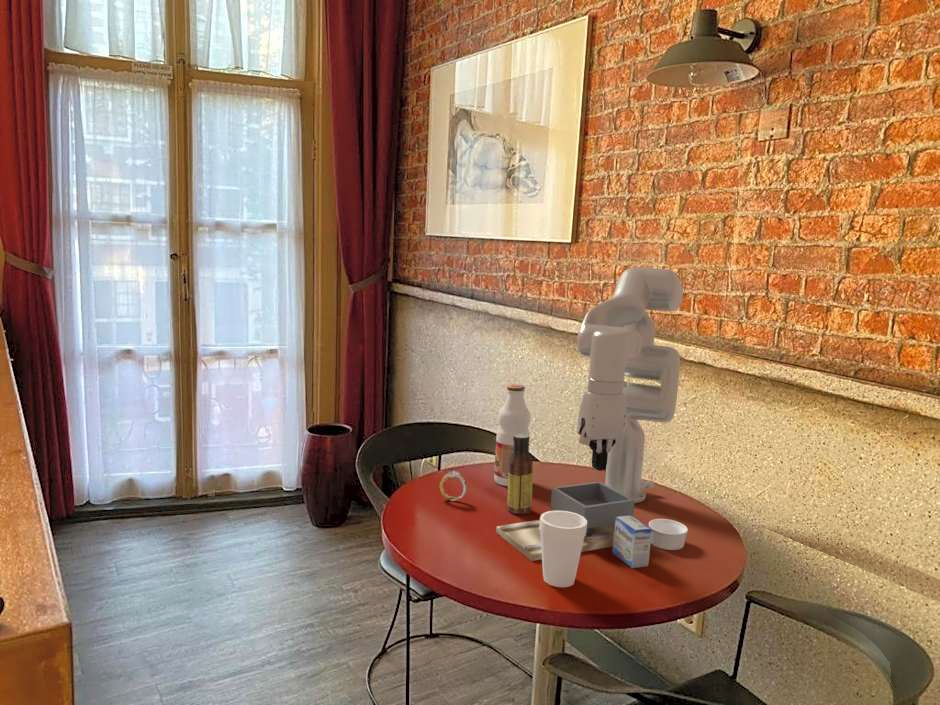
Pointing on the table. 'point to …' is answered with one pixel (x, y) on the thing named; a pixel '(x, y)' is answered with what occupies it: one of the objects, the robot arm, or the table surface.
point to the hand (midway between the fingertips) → (598, 468)
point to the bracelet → (453, 475)
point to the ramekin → (668, 534)
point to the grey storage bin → (592, 503)
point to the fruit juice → (510, 430)
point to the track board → (529, 538)
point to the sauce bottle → (520, 476)
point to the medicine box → (632, 541)
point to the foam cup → (561, 546)
